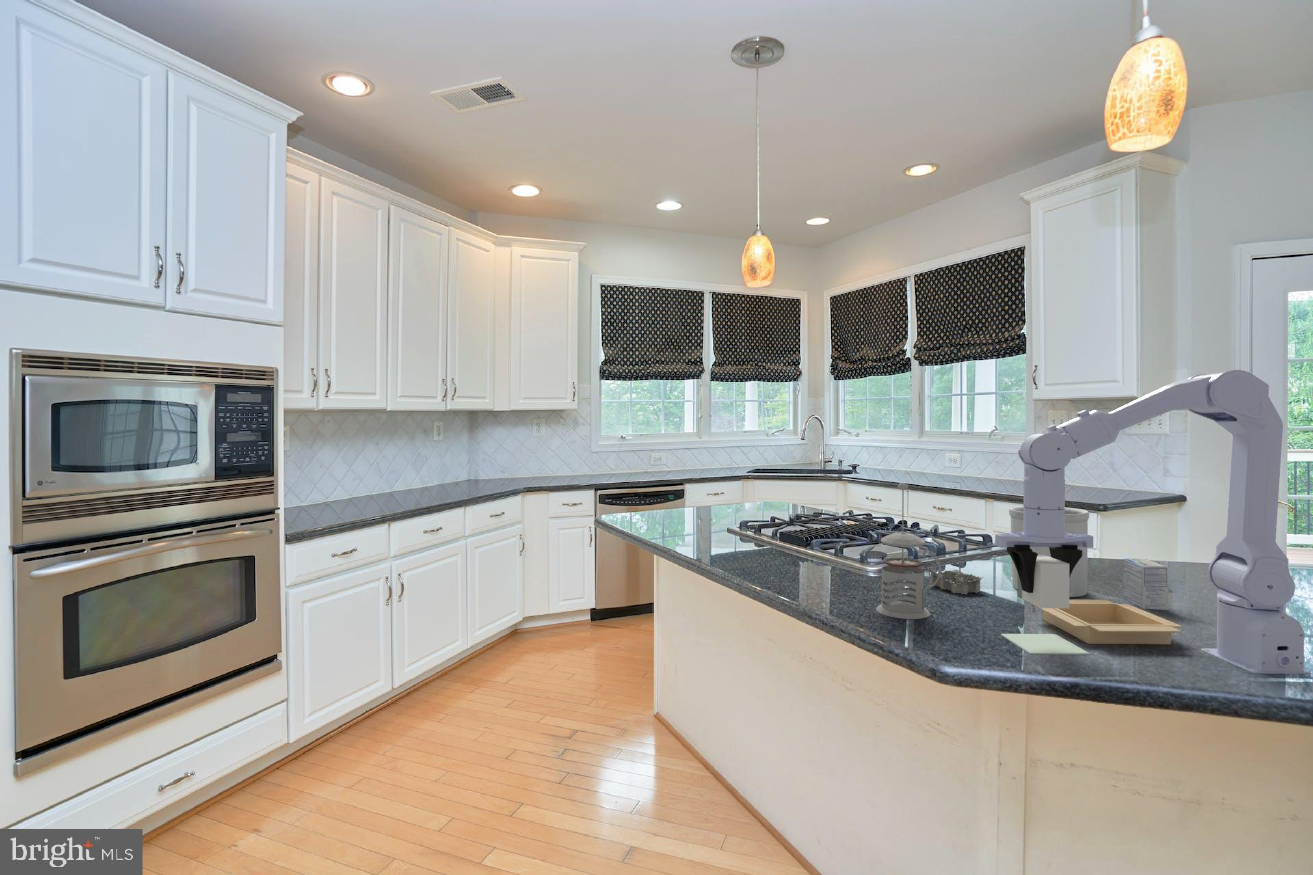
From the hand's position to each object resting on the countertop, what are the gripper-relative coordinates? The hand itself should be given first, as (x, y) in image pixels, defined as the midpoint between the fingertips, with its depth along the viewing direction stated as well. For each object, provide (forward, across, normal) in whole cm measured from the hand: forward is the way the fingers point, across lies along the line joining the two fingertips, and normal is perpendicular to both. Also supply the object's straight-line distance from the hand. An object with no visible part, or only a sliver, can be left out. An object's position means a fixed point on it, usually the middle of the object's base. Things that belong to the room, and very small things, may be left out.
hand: (1043, 591), depth 103 cm
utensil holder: (+9, -21, -36) cm, 43 cm away
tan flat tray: (+9, -14, -7) cm, 18 cm away
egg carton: (+10, -2, -37) cm, 39 cm away
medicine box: (+9, -33, -24) cm, 42 cm away
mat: (+9, 0, 0) cm, 9 cm away
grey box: (+2, 0, 0) cm, 2 cm away
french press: (+9, +15, -19) cm, 26 cm away
